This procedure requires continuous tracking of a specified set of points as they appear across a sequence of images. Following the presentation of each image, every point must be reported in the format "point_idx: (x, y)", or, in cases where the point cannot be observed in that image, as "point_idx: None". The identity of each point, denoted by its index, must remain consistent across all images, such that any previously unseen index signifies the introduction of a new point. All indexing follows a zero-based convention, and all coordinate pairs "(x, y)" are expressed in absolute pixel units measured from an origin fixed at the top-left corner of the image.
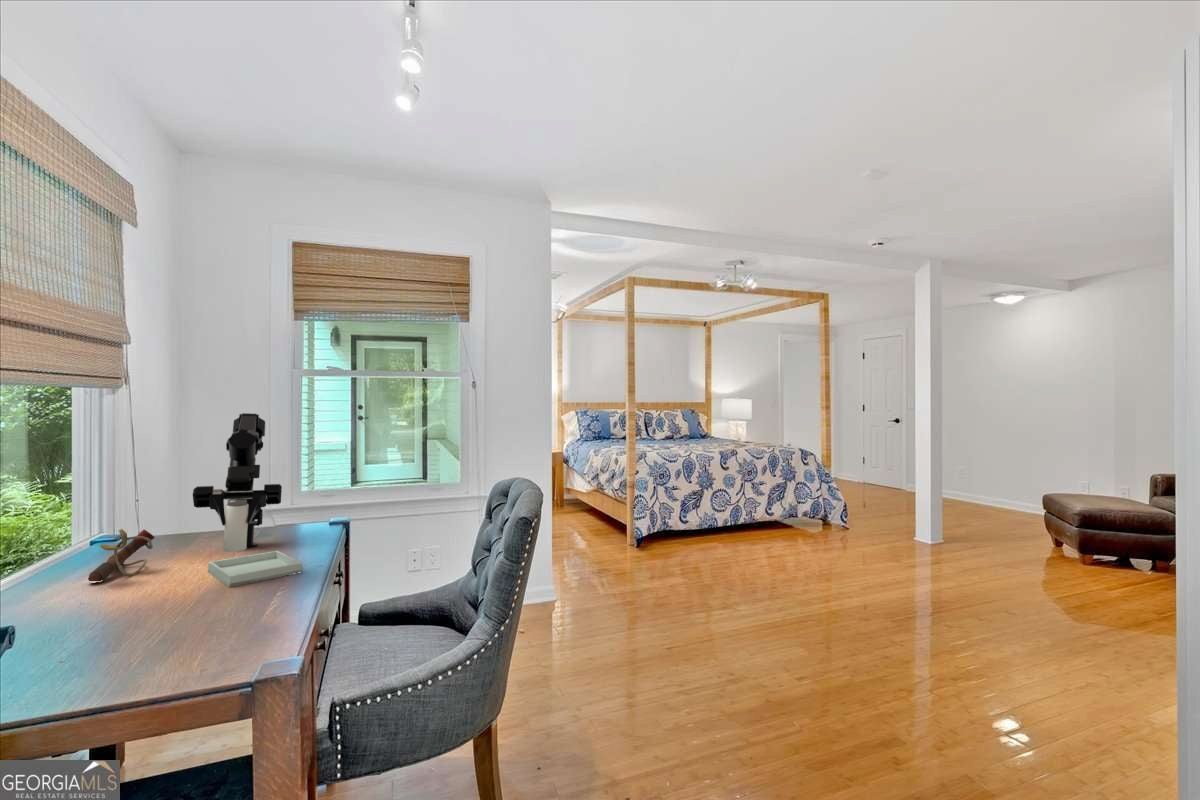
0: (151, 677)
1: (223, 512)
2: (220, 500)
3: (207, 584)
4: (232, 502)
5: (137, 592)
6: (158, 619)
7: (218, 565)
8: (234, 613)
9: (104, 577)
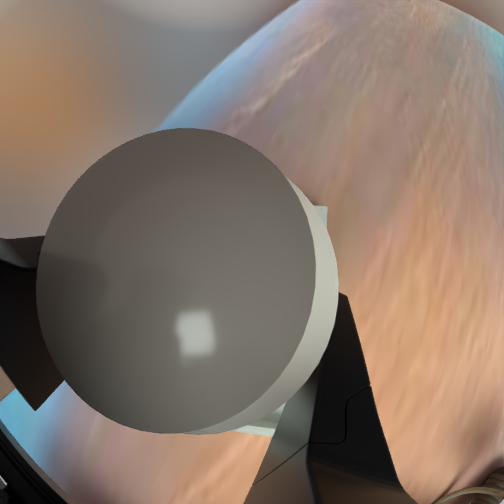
0: (446, 16)
1: (332, 350)
2: (356, 496)
3: (358, 293)
4: (275, 175)
5: (486, 345)
6: (466, 129)
7: (276, 424)
8: (362, 69)
9: (494, 474)
